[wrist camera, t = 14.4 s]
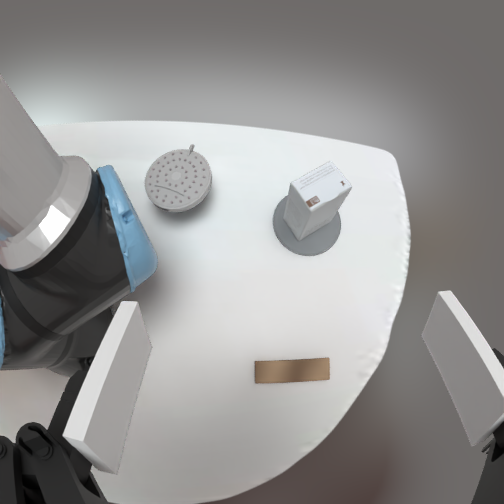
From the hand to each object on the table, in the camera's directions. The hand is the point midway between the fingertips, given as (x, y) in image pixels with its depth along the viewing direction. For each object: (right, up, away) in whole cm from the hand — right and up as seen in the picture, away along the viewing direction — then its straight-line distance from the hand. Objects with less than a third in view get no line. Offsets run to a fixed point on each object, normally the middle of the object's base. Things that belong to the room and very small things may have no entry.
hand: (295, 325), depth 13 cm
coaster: (+6, +7, +33) cm, 34 cm away
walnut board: (+4, -13, +27) cm, 30 cm away
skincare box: (+6, +7, +32) cm, 34 cm away
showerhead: (-12, +12, +34) cm, 38 cm away
